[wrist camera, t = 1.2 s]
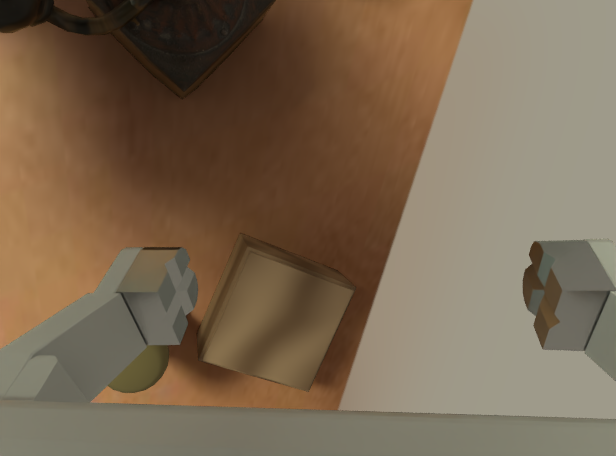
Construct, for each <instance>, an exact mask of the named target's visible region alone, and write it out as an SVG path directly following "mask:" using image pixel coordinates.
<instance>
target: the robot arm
mask: <svg viewBox="0 0 616 456" xmlns="http://www.w3.org/2000/svg"><path fill="white" fill-rule="evenodd" d="M529 256H530V259H531V261H532V264H531V265H530V266H529V267H528V268H527V269H525V272H524V278H523V296H524V301H525V304H526V306H527V309H528V310H529V311H530V312H532V313H533V314H534V315H535V316H536V318H535V322H534V328H535V331H536V333H537V335H538V338H539V341H540V344H541V346H542V349H545V350H571V351H585V354H586V355H587V356H589V357H590V358H591V359H592V360H593V361H594V362H595V363H596V364H597V365H598V366H600V367H601V368H602V369H603V370H604V371H605V372H606V373H607V374H608V375H609V376H611V378H613V379H614V380H615V381H616V245H615V244H614V243H613V241H611V240H609V239H586V240H569V241H567V240H566V241H535V242H534V243H533V244H532V246H531V249H530V253H529ZM189 261H190V258H189V256H188V253H187V251H186V249H184V248H182V247H144V248H142V247H126V248H124V249H122V250H121V251H120V253H119V254H118V256H117V257H116V259H115V260H114V262H113V264H112V265H111V267H110V268H109V270H108V271H107V273H106V274H105V276H104V278H103V279H102V281H101V282H100V284H99V285H98V287H97V289H96V290H95V292H94V293H87V294H86V295H84V296H83V297H81V298H80V299H78V300H77V301H75V302H73V303H72V304H70V305H69V306H67V307H66V308H64V309H63V310H61V311H59V312H58V313H56V314H55V315H53V316H52V317H50V318H48V319H47V320H45V321H44V322H42V323H41V324H39V325H38V326H36V327H34V328H33V329H31V330H30V331H28V332H27V333H25V334H24V335H22V336H20V337H19V338H17V339H16V340H14V341H13V342H11V343H10V344H8V345H6V346H5V347H3V348H2V349H0V456H616V419H593V418H559V417H530V416H498V415H465V414H433V413H431V414H430V413H402V412H370V411H339V410H308V409H277V408H246V407H214V406H182V405H151V404H119V403H90V402H91V401H92V400H93V399H94V398H95V397H96V396H97V395H98V394H99V393H100V392H101V391H102V390H103V389H104V388H105V387H106V386H107V385H108V384H110V383H111V382H112V381H113V380H114V379H115V378H116V377H117V376H118V375H119V374H120V373H121V372H122V371H123V370H124V369H125V368H126V367H127V366H128V365H129V364H130V363H131V362H132V361H133V360H134V359H135V358H136V357H137V356H138V355H139V354H140V353H141V352H143V351H144V350H145V349H146V348H147V346H146V345H180V343H181V341H182V338H183V336H184V333H185V331H186V328H187V325H188V321H187V318H186V315H187V314H188V313H190V312H191V311H192V310H193V309H194V307H195V304H196V301H197V295H198V284H197V279H196V276H195V273H194V272H193V271H192V270H190V269H189V268H188V267H187V265H188V263H189Z"/></svg>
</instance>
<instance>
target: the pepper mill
mask: <svg viewBox="0 0 616 456" xmlns="http://www.w3.org/2000/svg"><path fill="white" fill-rule="evenodd" d="M86 1H87V3H88V5H89V7H88V8H89V9H90V10H91V11H92V12H93V14H94V15H95V16H96V17H91V18H81V17H78V16H75V15H71V14H69V13H67V12H65V11H63V10H61V9H59V8H57V7H55V6H54V0H0V32H1V33H13V32H16V31H18V30H21V29H23V28H26V27H28V26H35V25H39V24H42V23H45V22H46V21H48V22H50V23H52V24H54V25H56V26H58V27H60V28H62V29H64V30H66V31H68V32H73V33H78V34H83V35H105V34H107V33H111V34H112V35H113V36H114V37H115V38H116V39H117V40H118V41H119V42H120V43H121V44H122V45H123V46H124V47H125V48H126V49H127V50H128V51H129V52H130V53H131V54H132V55H133V56H134V57H135V58H136V59H137V60H138V61H139V62H140V63H141V64H142V65H143V66H144V67H145V68H146V69H147V70H148V71H149V72H150V73H151V74H152V75H153V76H154V77H155V78H157V79H158V80H159V81H160V82H161V83H163V84H164V85H165V86H166V87H168V88H169V89H170V90H171V91H173V92H174V93H175V94H176V95H178V96H179V97H180V98H181V99H183V98H184V97H186V96H187V95H189V94H190V93H191V92H193V91H194V90H195V89H197V88H198V87H199V86H200V84H201V83H202V82H203V81H204V80H205V79H206V78H208V77H209V76H210V75H211V74H212V73H213V72H214V71H215V70H216V69H217V68H218V67H219V66H220V64H221V63H222V62H223V61H224V60H225V59H226V58H227V57H228V56H229V55H230V54H231V53H232V52H233V51H234V50H235V49H236V48H237V47H238V46H239V44H240V43H241V42H242V41H243V40H244V39H245V38H246V37H247V36H248V35H249V33H250V32H251V31H252V30H253V29H254V28H255V27H256V26H257V25H258V24H259V23H260V22H261V21H262V20H263V17H264V16H265V14H266V13H267V11H268V10H269V9H270V7H271V6H272V5H273V3H274V2H275V1H276V0H86Z"/></svg>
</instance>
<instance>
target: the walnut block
mask: <svg viewBox="0 0 616 456" xmlns="http://www.w3.org/2000/svg"><path fill="white" fill-rule="evenodd" d="M355 290H356V287H355V286H354V285H353V284H352V283H351V282H349V281H348V280H347V279H346V278H345V277H344V276H343V275H342V274H341V273H340V272H338V271H337V270H335V269H332V268H330V267H327V266H324V265H322V264H319V263H317V262H314V261H311V260H309V259H306V258H304V257H301V256H299V255H296V254H293V253H291V252H288V251H286V250H283V249H281V248H278V247H275V246H273V245H270V244H268V243H265V242H263V241H260V240H257V239H255V238H252V237H250V236H247V235H245V234H242V233H240V235H239V237H238V239H237V242H236V244H235V246H234V248H233V251H232V253H231V255H230V258H229V260H228V262H227V265H226V267H225V269H224V272H223V274H222V276H221V279H220V281H219V283H218V286H217V288H216V290H215V293H214V295H213V297H212V299H211V302H210V304H209V306H208V309H207V311H206V313H205V316H204V318H203V320H202V323H201V325H200V327H199V330H198V332H197V347H198V361H202V362H205V363H209V364H212V365H216V366H219V367H223V368H226V369H230V370H233V371H237V372H240V373H244V374H247V375H251V376H254V377H258V378H261V379H265V380H268V381H272V382H276V383H279V384H283V385H286V386H290V387H293V388H297V389H300V390H304V391H307V392H309V390H310V388H311V386H312V383H313V381H314V379H315V377H316V375H317V372H318V370H319V368H320V366H321V364H322V362H323V359H324V357H325V355H326V353H327V351H328V349H329V346H330V344H331V342H332V340H333V338H334V335H335V333H336V331H337V329H338V327H339V325H340V322H341V320H342V318H343V316H344V314H345V311H346V309H347V307H348V305H349V303H350V301H351V298H352V296H353V294H354V292H355Z"/></svg>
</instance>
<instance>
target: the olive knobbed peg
mask: <svg viewBox="0 0 616 456" xmlns="http://www.w3.org/2000/svg"><path fill="white" fill-rule="evenodd" d="M146 346H147V348H146V349H145V350H144V351H143V352H141V353H140V354H139V355H138V356H137V357H136V358H135V359H134V360H133V361H132V362H131V363H130V364H129V365H128V366H127V367H126V368H125V369H124V370H123V371H122V372H121V373H120V374H119V375H118V376H117V377H116V378H115V379H114V380H113V381H112V382H111V383H110V384H108V385H107V386H109V387H110V388H112V389H113V390H116V391H120V392H123V393H135V392H139V391H143V390H146V389H148V388H149V387H151V386H153V385H154V384H155V383H156V382H157V381H158V380H159V379H160V378H161V377H162V376H163V374H164V372H165V370H166V368H167V366H168V359H169V350H168V345H146Z"/></svg>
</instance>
